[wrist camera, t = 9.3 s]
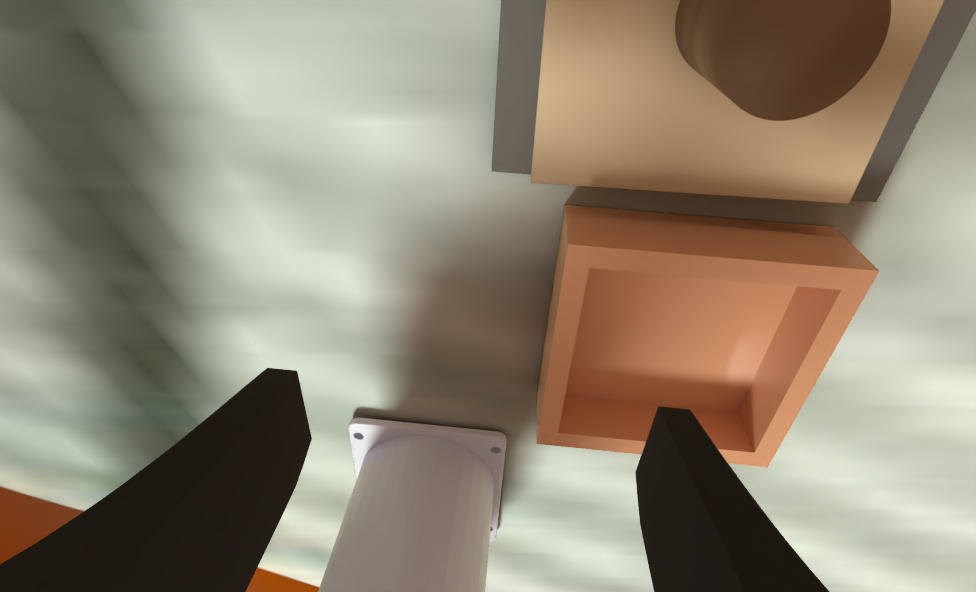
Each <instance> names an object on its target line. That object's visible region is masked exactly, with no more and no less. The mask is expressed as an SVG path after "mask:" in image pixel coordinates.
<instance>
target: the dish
mask: <svg viewBox="0 0 976 592" xmlns="http://www.w3.org/2000/svg"><path fill="white" fill-rule="evenodd" d="M878 272H879V270H878V269H877V268H876V267H875V266H874V265H873V264H872V263H871V262H870V261H869V260H867V259H866V258H865V257H864V256H863V255H862V254H861V253H860V252H859V251H858V250H857V249H856V248H855V247H854V246H853V245H852V244H851V243H850V242H849V241H848V240H847V239H846V238H845V237H844V236H843V235H842V234H841V233H840V232H839V231H838V230H837V229H836V228H835V227H830V226H818V225H806V224H794V223H782V222H769V221H757V220H745V219H733V218H721V217H709V216H697V215H684V214H672V213H660V212H648V211H636V210H624V209H612V208H599V207H587V206H575V205H564V212H563V218H562V225H561V232H560V239H559V246H558V253H557V259H556V266H555V273H554V280H553V287H552V294H551V301H550V307H549V314H548V321H547V328H546V335H545V342H544V349H543V355H542V362H541V369H540V376H539V383H538V390H537V444H545V445H555V446H565V447H575V448H585V449H594V450H604V451H614V452H624V453H634V454H642V452H643V449H644V446H645V443H646V440H647V438H648V435H649V432H650V429H651V426H652V423H653V420H654V417H655V414H656V411H657V408H658V406H660V407H670V408H681V409H690V410H691V412H692V413H693V414H694V415H695V417H696V418H697V420H698V421H699V423H700V424H701V425H702V427H703V428H704V430H705V431H706V433H707V434H708V436H709V437H710V439H711V440H712V441H713V443H714V444H715V446H716V447H717V449H718V450H719V451H720V453H721V454H722V456H723V457H724V459H725V460H726V461H727V463H732V464H741V465H751V466H761V467H768V466H769V464H770V462H771V460H772V459H773V457H774V455H775V453H776V452H777V450H778V448H779V446H780V445H781V443H782V441H783V439H784V438H785V436H786V434H787V432H788V431H789V429H790V427H791V425H792V423H793V422H794V420H795V418H796V416H797V415H798V413H799V411H800V409H801V408H802V406H803V404H804V402H805V401H806V399H807V397H808V395H809V394H810V392H811V390H812V388H813V387H814V385H815V383H816V381H817V379H818V378H819V376H820V374H821V372H822V371H823V369H824V367H825V365H826V364H827V362H828V360H829V358H830V357H831V355H832V353H833V351H834V350H835V348H836V346H837V344H838V343H839V341H840V339H841V337H842V336H843V334H844V332H845V330H846V328H847V327H848V325H849V323H850V321H851V320H852V318H853V316H854V314H855V313H856V311H857V309H858V307H859V306H860V304H861V302H862V300H863V299H864V297H865V295H866V293H867V292H868V290H869V288H870V286H871V284H872V283H873V281H874V279H875V277H876V276H877V274H878Z"/></svg>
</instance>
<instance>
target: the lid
mask: <svg viewBox="0 0 976 592" xmlns="http://www.w3.org/2000/svg"><path fill="white" fill-rule="evenodd" d="M943 2H944V0H546V9H545V21H544V32H543V44H542V55H541V67H540V79H539V90H538V102H537V113H536V125H535V137H534V148H533V160H532V171H531V183H543V184H559V185H574V186H589V187H604V188H619V189H634V190H649V191H664V192H680V193H695V194H710V195H725V196H740V197H755V198H770V199H785V200H801V201H816V202H831V203H846V204H849V203H850V200H851V198H852V196H853V194H854V192H855V190H856V188H857V186H858V183H859V181H860V179H861V177H862V175H863V173H864V171H865V168H866V166H867V164H868V162H869V160H870V158H871V156H872V154H873V151H874V149H875V147H876V145H877V143H878V141H879V139H880V136H881V134H882V132H883V130H884V128H885V126H886V124H887V122H888V119H889V117H890V115H891V113H892V111H893V109H894V107H895V104H896V102H897V100H898V98H899V96H900V94H901V92H902V90H903V87H904V85H905V83H906V81H907V79H908V77H909V75H910V72H911V70H912V68H913V66H914V64H915V62H916V60H917V58H918V55H919V53H920V51H921V49H922V47H923V45H924V43H925V40H926V38H927V36H928V34H929V32H930V30H931V28H932V26H933V23H934V21H935V19H936V17H937V15H938V13H939V11H940V8H941V6H942V4H943Z"/></svg>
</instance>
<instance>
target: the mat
mask: <svg viewBox="0 0 976 592" xmlns="http://www.w3.org/2000/svg"><path fill="white" fill-rule="evenodd" d="M545 9H546V0H501V15H500V33H499V51H498V68H497V86H496V104H495V121H494V139H493V157H492V171H496V172H508V173H521V174H531V171H532V160H533V148H534V137H535V125H536V113H537V102H538V90H539V79H540V67H541V55H542V44H543V32H544V21H545ZM975 10H976V0H944V2H943V4H942V6H941V8H940V11H939V13H938V15H937V17H936V19H935V21H934V23H933V26H932V28H931V30H930V32H929V34H928V36H927V38H926V40H925V43H924V45H923V47H922V49H921V51H920V53H919V55H918V58H917V60H916V62H915V64H914V66H913V68H912V70H911V72H910V75H909V77H908V79H907V81H906V83H905V85H904V87H903V90H902V92H901V94H900V96H899V98H898V100H897V102H896V104H895V107H894V109H893V111H892V113H891V115H890V117H889V119H888V122H887V124H886V126H885V128H884V130H883V132H882V134H881V136H880V139H879V141H878V143H877V145H876V147H875V149H874V151H873V154H872V156H871V158H870V160H869V162H868V164H867V166H866V168H865V171H864V173H863V175H862V177H861V179H860V181H859V183H858V186H857V188H856V190H855V192H854V194H853V196H852V198H851V200H858V201H870V202H877V200H878V198H879V196H880V194H881V192H882V190H883V188H884V186H885V184H886V182H887V180H888V178H889V176H890V174H891V173H892V171H893V169H894V167H895V165H896V163H897V161H898V159H899V157H900V155H901V153H902V151H903V149H904V147H905V146H906V144H907V142H908V140H909V138H910V136H911V134H912V132H913V130H914V128H915V126H916V124H917V122H918V120H919V118H920V117H921V115H922V113H923V111H924V109H925V107H926V105H927V103H928V101H929V99H930V97H931V95H932V93H933V91H934V90H935V88H936V86H937V84H938V82H939V80H940V78H941V76H942V74H943V72H944V70H945V68H946V66H947V64H948V63H949V61H950V59H951V57H952V55H953V53H954V51H955V49H956V47H957V45H958V43H959V41H960V39H961V37H962V35H963V34H964V32H965V30H966V28H967V26H968V24H969V22H970V20H971V18H972V16H973V14H974V12H975Z"/></svg>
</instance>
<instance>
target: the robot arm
mask: <svg viewBox="0 0 976 592" xmlns="http://www.w3.org/2000/svg"><path fill="white" fill-rule="evenodd" d="M348 430H349V436H350V443H351V449H352V456H353V462H354V469H355V475H356V483H355V486H354V489H353V492H352V495H351V498H350V501H349V504H348V507H347V510H346V513H345V515H344V518H343V521H342V524H341V527H340V530H339V533H338V536H337V539H336V542H335V545H334V547H333V550H332V553H331V556H330V559H329V562H328V565H327V568H326V571H325V574H324V577H323V579H322V582H321V585H320V588H319V591H318V592H485V586H486V574H487V563H488V551H489V542H493V541H495V540H496V535H497V526H498V516H499V507H500V498H501V488H502V479H503V469H504V460H505V451H506V440H507V439H506V436H505V435H504V434H503V433H501V432H497V431H487V430H478V429H468V428H458V427H448V426H438V425H428V424H418V423H408V422H399V421H389V420H379V419H369V418H353V419H352V420H351V421H350V423H349V426H348ZM311 439H312V438H311V433H310V429H309V424H308V420H307V415H306V410H305V406H304V401H303V397H302V392H301V387H300V383H299V378H298V374H297V371H293V370H283V369H272V368H267V369H266V370H264V371H263V372H262V373H261V374H260V375H258V376H257V377H256V378H255V379H253V380H252V381H251V382H250V383H249V384H247V385H246V386H245V387H244V388H243V389H241V390H240V391H239V392H238V393H237V394H235V395H234V396H233V397H232V398H231V399H230V400H228V401H227V402H226V403H225V404H224V405H222V406H221V407H220V408H219V409H218V410H216V411H215V412H214V413H213V414H212V415H210V416H209V417H208V418H207V419H206V420H204V421H203V422H202V423H201V424H200V425H198V426H197V427H196V428H195V429H193V430H192V431H191V432H190V433H188V434H187V435H186V436H185V437H184V438H182V439H181V440H180V441H179V442H177V443H176V444H175V445H174V446H172V447H171V448H170V449H169V450H167V451H166V452H165V453H164V454H162V455H161V456H160V457H158V458H157V459H156V460H154V461H153V462H152V463H150V464H149V465H148V466H146V467H145V468H144V469H143V470H141V471H140V472H139V473H137V474H136V475H135V476H133V477H132V478H131V479H129V480H128V481H127V482H125V483H124V484H123V485H121V486H120V487H119V488H117V489H116V490H114V491H113V492H112V493H110V494H109V495H107V496H106V497H105V498H103V499H102V500H100V501H99V502H97V503H96V504H95V505H93V506H92V507H90V508H89V509H87V510H86V511H84V512H83V513H81V514H80V515H78V516H77V517H75V518H74V519H72V520H71V521H69V522H68V523H66V524H65V525H63V526H62V527H60V528H59V529H57V530H56V531H54V532H53V533H51V534H49V535H48V536H46V537H45V538H43V539H42V540H40V541H39V542H37V543H35V544H34V545H32V546H31V547H29V548H27V549H25V550H24V551H22V552H20V553H19V554H17V555H15V556H14V557H12V558H10V559H9V560H7V561H5V562H4V563H2V564H0V592H245V591H246V589H247V587H248V585H249V583H250V581H251V579H252V577H253V575H254V573H255V571H256V568H257V567H258V564H259V562H260V560H261V558H262V556H263V554H264V552H265V550H266V548H267V546H268V544H269V542H270V540H271V537H272V535H273V533H274V531H275V529H276V527H277V525H278V523H279V521H280V519H281V517H282V514H283V512H284V510H285V508H286V506H287V504H288V502H289V500H290V498H291V495H292V493H293V491H294V489H295V487H296V484H297V481H298V478H299V475H300V473H301V470H302V467H303V464H304V461H305V458H306V455H307V452H308V449H309V445H310V442H311ZM636 482H637V495H638V506H639V516H640V524H641V529H642V535H643V540H644V544H645V549H646V554H647V559H648V564H649V569H650V573H651V578H652V583H653V588H654V592H829V591H828V590H827V588H826V587H825V586H824V585H823V584H822V583H821V582H820V580H819V579H818V578H817V577H816V576H815V575H814V573H813V572H812V571H811V570H810V569H809V568H808V566H807V565H806V564H805V563H804V562H803V560H802V559H801V558H800V557H799V555H798V554H797V553H796V552H795V551H794V549H793V548H792V547H791V546H790V545H789V543H788V542H787V541H786V540H785V538H784V537H783V536H782V535H781V533H780V532H779V531H778V530H777V528H776V527H775V526H774V525H773V523H772V522H771V521H770V519H769V518H768V517H767V515H766V514H765V513H764V511H763V510H762V509H761V508H760V506H759V505H758V504H757V502H756V501H755V500H754V498H753V497H752V496H751V494H750V493H749V492H748V490H747V489H746V488H745V486H744V485H743V484H742V482H741V481H740V480H739V478H738V477H737V475H736V474H735V473H734V471H733V470H732V468H731V467H730V466H729V464H728V463H727V461H726V460H725V459H724V457H723V456H722V454H721V453H720V451H719V450H718V449H717V447H716V446H715V444H714V443H713V441H712V440H711V439H710V437H709V436H708V434H707V433H706V431H705V430H704V428H703V427H702V425H701V424H700V423H699V421H698V420H697V418H696V417H695V415H694V414H693V413H692V412H691V410H690V409H681V408H670V407H660V406H658V408H657V411H656V414H655V417H654V420H653V423H652V426H651V429H650V432H649V435H648V438H647V440H646V443H645V446H644V449H643V452H642V455H641V458H640V461H639V464H638V467H637V470H636Z"/></svg>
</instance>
